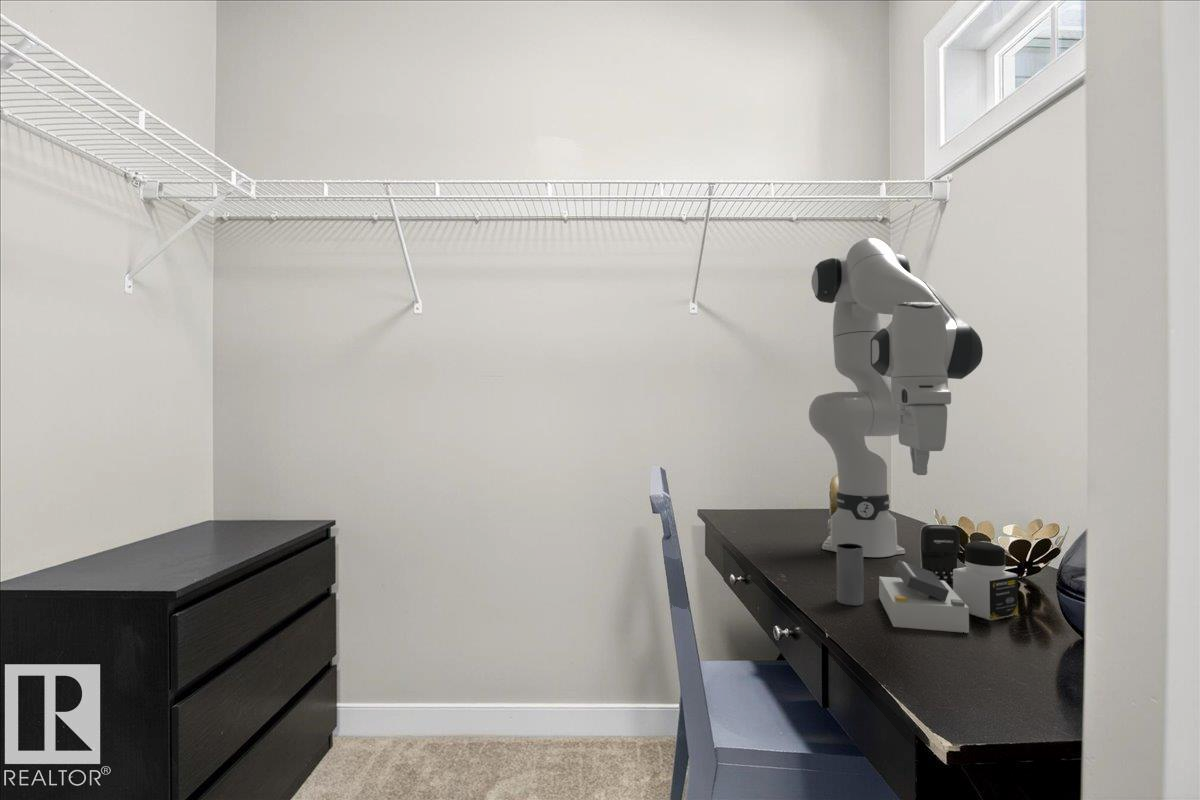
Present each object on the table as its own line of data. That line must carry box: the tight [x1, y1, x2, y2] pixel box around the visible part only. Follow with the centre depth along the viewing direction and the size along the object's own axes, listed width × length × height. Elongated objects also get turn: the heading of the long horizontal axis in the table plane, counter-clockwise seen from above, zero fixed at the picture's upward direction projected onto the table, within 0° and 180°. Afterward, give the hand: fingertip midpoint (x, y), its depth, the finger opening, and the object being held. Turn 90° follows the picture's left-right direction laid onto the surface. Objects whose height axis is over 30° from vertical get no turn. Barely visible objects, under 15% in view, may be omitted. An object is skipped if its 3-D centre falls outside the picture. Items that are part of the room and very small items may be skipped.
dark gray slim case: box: [894, 559, 949, 601], centre depth 112 cm, size 12×6×2 cm, turn 164°
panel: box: [878, 575, 970, 634], centre depth 112 cm, size 16×11×5 cm
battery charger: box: [919, 523, 961, 583], centre depth 132 cm, size 7×4×11 cm, turn 81°
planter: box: [836, 543, 864, 607], centre depth 118 cm, size 4×4×10 cm
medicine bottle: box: [952, 540, 1019, 621], centre depth 113 cm, size 7×7×12 cm
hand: (919, 474), depth 112 cm, fingers closed
